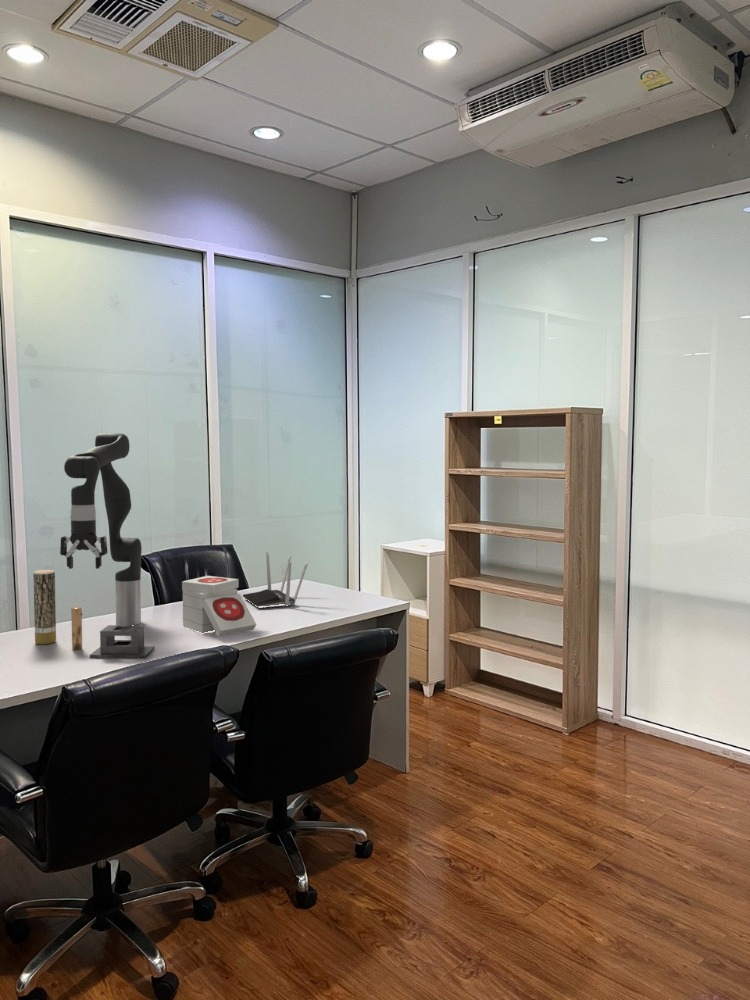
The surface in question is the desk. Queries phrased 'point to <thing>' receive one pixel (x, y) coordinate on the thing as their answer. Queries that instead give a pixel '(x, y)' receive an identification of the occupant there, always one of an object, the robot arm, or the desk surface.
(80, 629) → the tan wooden rod
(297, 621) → the desk surface
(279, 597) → the wireless router
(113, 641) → the stand
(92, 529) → the robot arm
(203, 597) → the stack of pizza boxes
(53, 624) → the bark log
